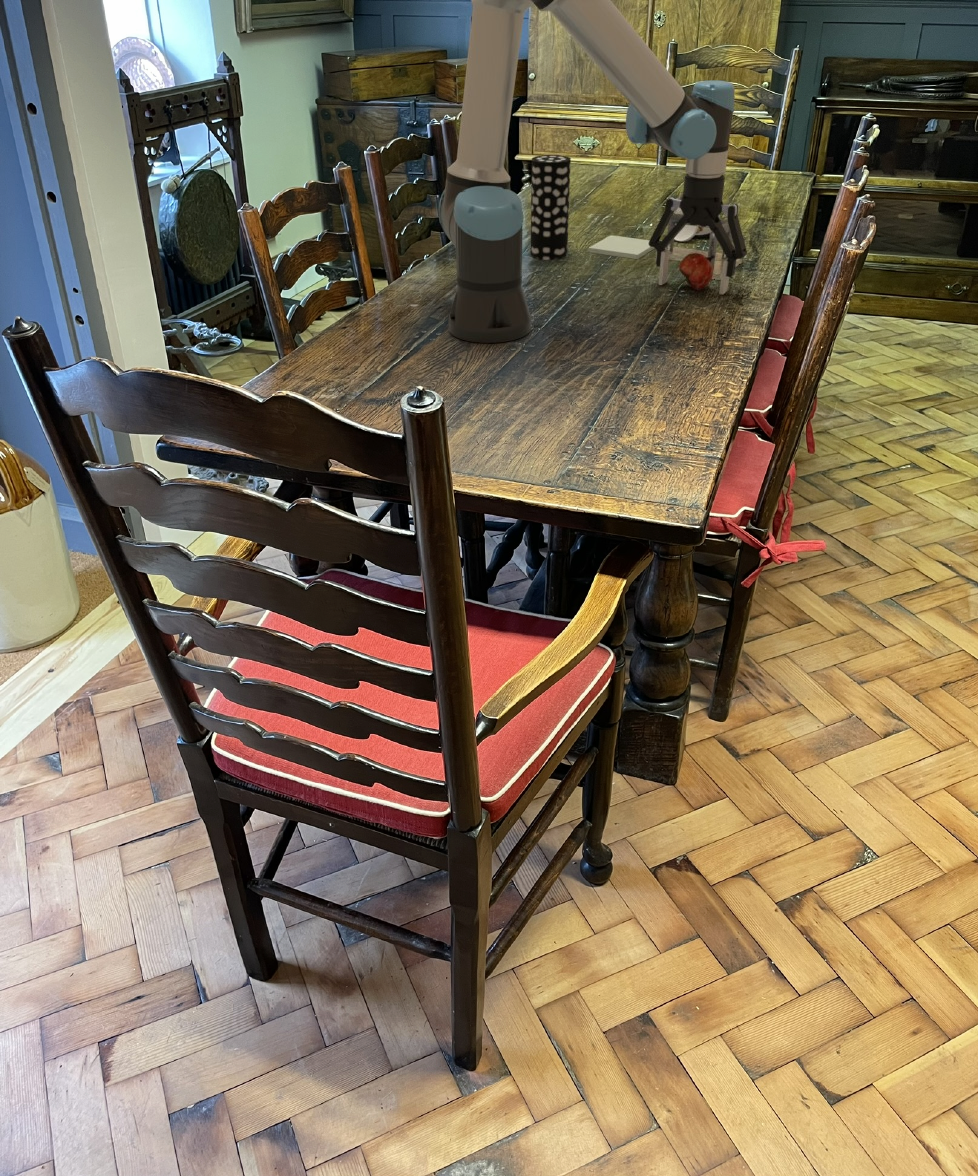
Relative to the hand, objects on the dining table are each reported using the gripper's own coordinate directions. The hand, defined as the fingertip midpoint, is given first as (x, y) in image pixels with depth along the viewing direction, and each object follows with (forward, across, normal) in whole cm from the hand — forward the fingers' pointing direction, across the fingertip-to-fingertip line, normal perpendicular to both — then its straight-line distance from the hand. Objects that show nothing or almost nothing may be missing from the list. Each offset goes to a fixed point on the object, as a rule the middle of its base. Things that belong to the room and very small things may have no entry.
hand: (692, 288), depth 189 cm
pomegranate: (0, 0, 0) cm, 0 cm away
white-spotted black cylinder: (0, +37, -8) cm, 38 cm away
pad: (0, +24, -20) cm, 31 cm away
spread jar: (+1, +14, -37) cm, 39 cm away
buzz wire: (0, +6, -15) cm, 17 cm away
